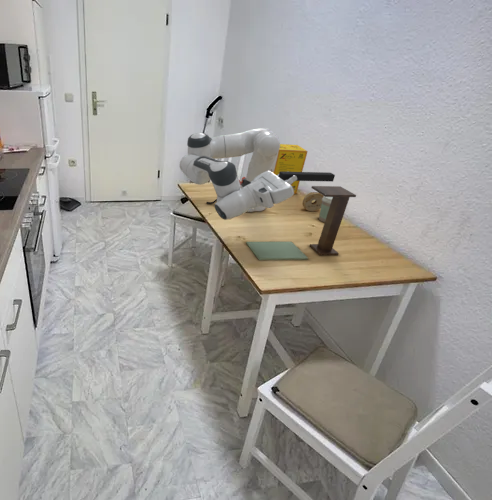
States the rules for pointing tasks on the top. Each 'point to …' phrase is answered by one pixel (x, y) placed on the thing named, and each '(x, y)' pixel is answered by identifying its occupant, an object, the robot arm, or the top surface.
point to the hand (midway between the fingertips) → (293, 175)
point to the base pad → (276, 251)
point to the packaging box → (289, 161)
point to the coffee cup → (325, 208)
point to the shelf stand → (331, 217)
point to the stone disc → (315, 205)
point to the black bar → (308, 176)
